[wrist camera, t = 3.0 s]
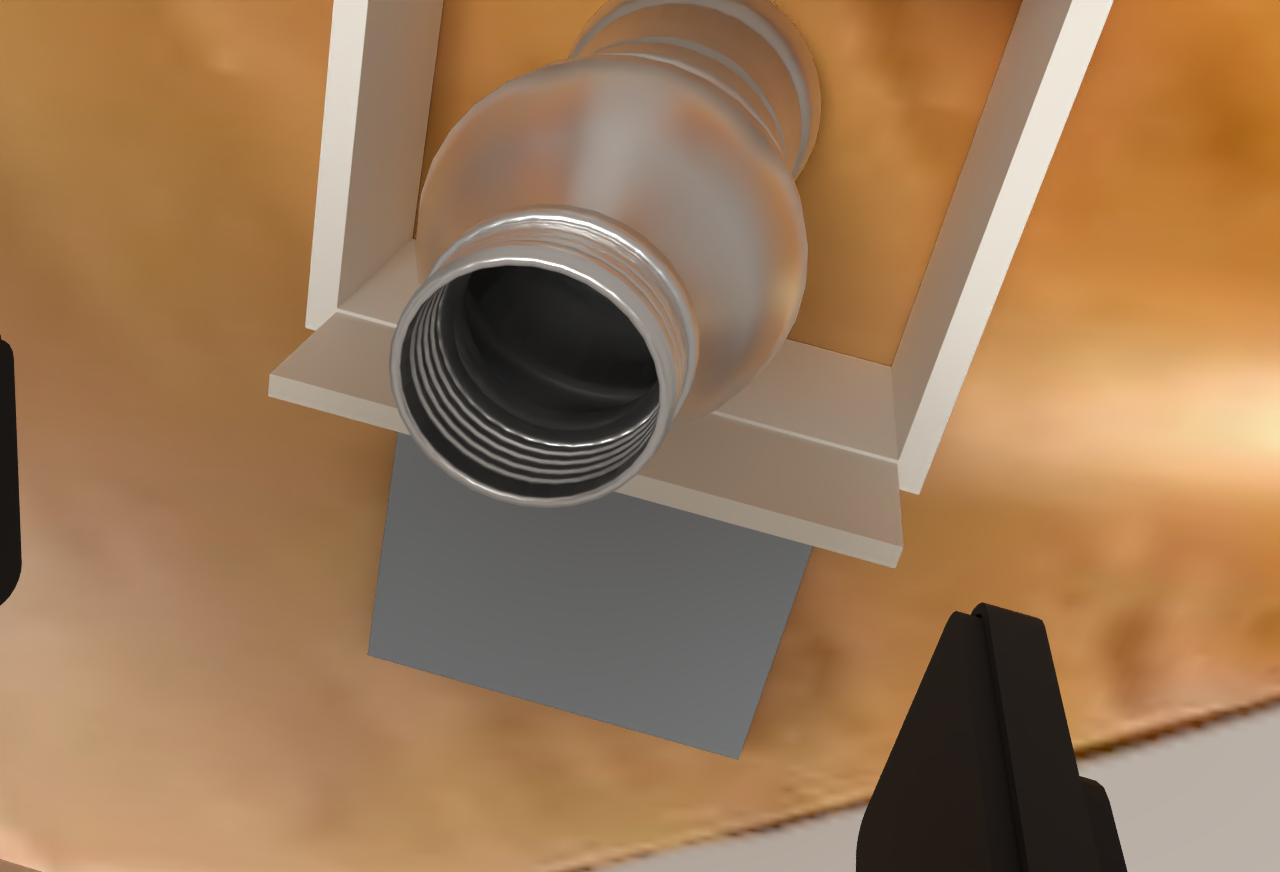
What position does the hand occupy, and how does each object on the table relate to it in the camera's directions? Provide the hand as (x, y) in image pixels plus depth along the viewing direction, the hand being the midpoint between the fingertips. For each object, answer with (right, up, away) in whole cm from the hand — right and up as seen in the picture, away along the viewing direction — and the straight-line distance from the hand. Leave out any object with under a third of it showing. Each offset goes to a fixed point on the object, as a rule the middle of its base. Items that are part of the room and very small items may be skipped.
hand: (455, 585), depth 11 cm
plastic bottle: (+4, +11, +21) cm, 24 cm away
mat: (0, -2, +28) cm, 29 cm away
